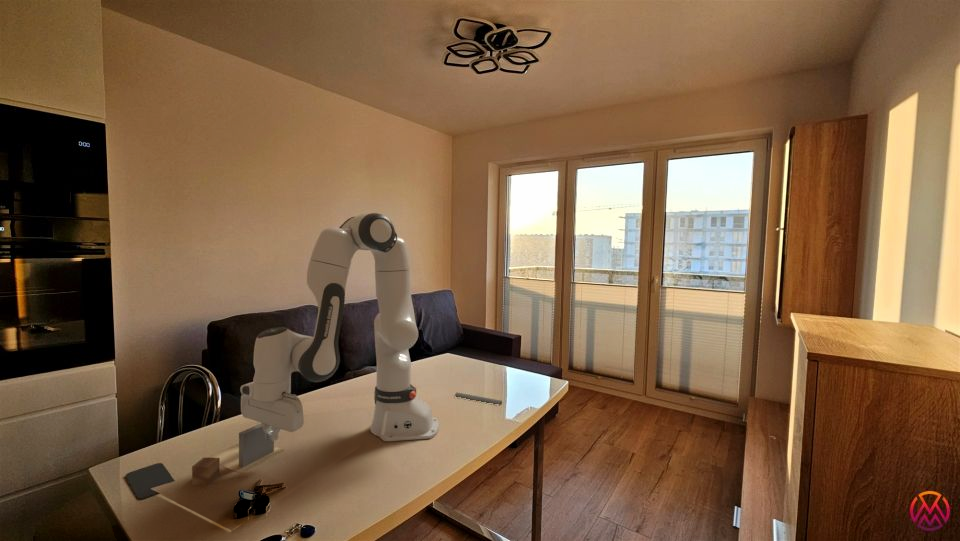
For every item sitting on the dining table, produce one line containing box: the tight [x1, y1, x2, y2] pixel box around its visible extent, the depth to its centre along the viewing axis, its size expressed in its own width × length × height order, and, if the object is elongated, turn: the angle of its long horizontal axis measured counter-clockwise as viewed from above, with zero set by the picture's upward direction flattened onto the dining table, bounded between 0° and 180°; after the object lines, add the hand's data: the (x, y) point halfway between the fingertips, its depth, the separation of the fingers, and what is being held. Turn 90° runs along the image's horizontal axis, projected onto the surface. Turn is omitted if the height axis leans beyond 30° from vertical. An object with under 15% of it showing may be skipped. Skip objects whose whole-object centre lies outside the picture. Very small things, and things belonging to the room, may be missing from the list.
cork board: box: [207, 443, 286, 475], centre depth 107 cm, size 15×13×1 cm
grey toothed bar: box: [454, 392, 503, 405], centre depth 153 cm, size 4×20×2 cm, turn 69°
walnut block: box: [191, 457, 221, 486], centre depth 95 cm, size 4×4×5 cm
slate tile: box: [238, 423, 275, 467], centre depth 105 cm, size 2×9×9 cm, turn 156°
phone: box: [125, 462, 176, 501], centre depth 94 cm, size 7×1×15 cm
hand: (271, 439), depth 102 cm, fingers closed
